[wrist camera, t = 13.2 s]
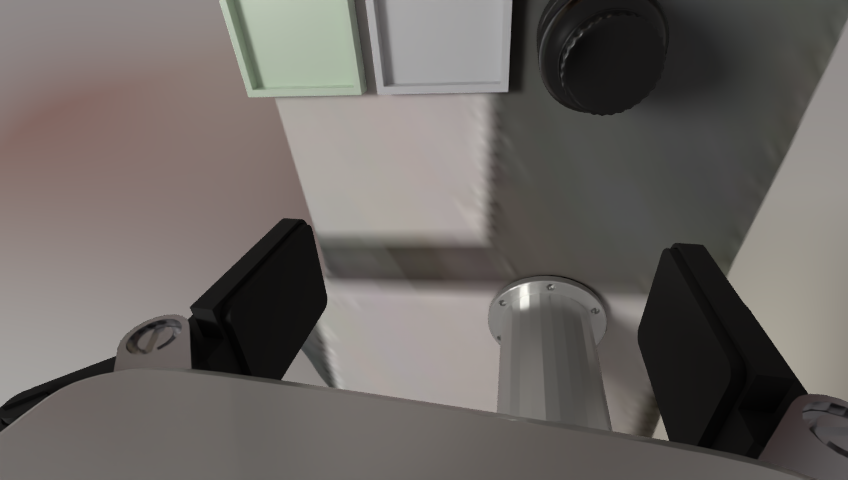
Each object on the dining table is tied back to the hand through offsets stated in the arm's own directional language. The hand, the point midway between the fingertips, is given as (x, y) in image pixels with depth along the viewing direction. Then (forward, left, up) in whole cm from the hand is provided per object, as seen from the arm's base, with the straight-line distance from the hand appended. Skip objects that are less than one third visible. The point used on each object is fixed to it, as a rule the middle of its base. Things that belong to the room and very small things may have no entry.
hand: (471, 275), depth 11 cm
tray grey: (+4, +5, -26) cm, 27 cm away
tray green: (+4, +17, -26) cm, 31 cm away
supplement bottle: (+2, -6, -26) cm, 27 cm away
